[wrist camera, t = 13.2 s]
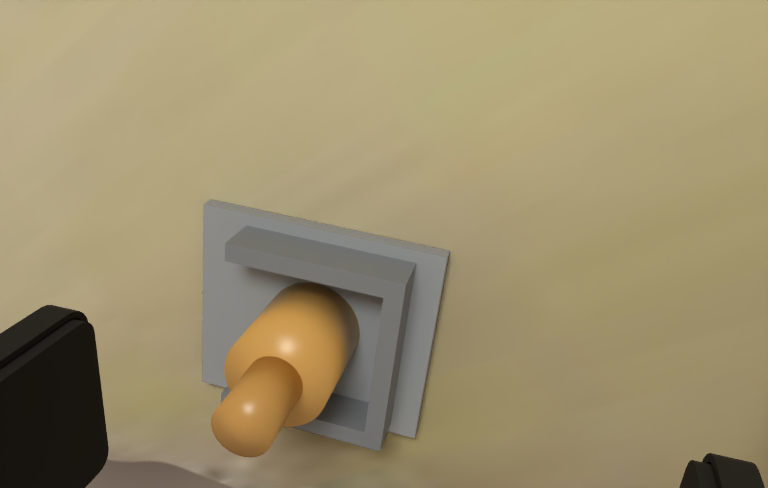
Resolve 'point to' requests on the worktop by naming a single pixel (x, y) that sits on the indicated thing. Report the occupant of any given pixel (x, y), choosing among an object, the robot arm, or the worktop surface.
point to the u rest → (351, 281)
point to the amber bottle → (284, 367)
